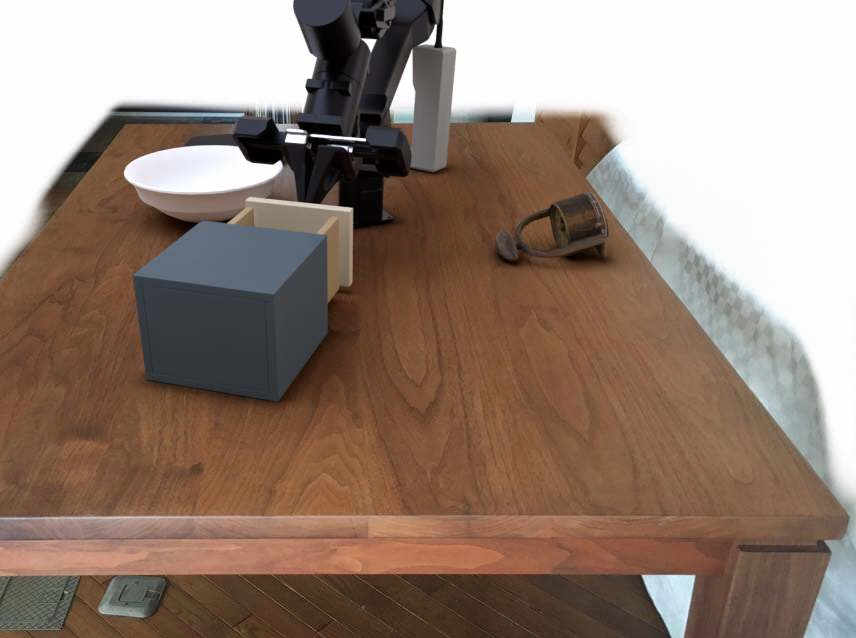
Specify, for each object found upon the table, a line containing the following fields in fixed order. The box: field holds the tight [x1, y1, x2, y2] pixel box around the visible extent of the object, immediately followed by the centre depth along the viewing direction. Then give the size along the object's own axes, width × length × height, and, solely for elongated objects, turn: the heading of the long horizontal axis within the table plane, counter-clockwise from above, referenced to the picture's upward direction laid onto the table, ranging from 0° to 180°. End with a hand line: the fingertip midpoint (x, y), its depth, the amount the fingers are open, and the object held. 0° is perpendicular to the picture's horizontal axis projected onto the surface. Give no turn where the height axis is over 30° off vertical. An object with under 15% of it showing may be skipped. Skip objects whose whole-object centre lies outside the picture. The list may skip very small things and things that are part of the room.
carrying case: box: [183, 133, 285, 162], centre depth 136 cm, size 11×3×15 cm
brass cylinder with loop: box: [494, 191, 610, 263], centre depth 103 cm, size 7×13×10 cm
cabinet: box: [132, 221, 329, 403], centre depth 81 cm, size 14×13×10 cm
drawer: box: [227, 197, 354, 303], centre depth 92 cm, size 16×11×8 cm
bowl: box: [123, 145, 284, 224], centre depth 115 cm, size 20×20×6 cm
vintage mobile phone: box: [410, 0, 457, 173], centre depth 127 cm, size 4×5×25 cm
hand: (304, 218), depth 94 cm, fingers closed
